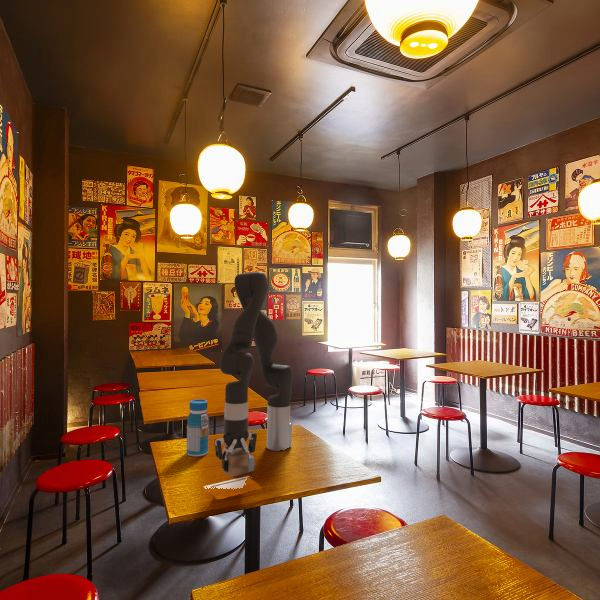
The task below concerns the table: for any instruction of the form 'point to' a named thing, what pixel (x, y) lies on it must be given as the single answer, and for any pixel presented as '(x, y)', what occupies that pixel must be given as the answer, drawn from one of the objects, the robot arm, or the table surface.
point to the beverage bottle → (197, 428)
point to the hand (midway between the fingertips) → (235, 468)
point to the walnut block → (238, 462)
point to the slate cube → (251, 463)
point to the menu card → (229, 484)
